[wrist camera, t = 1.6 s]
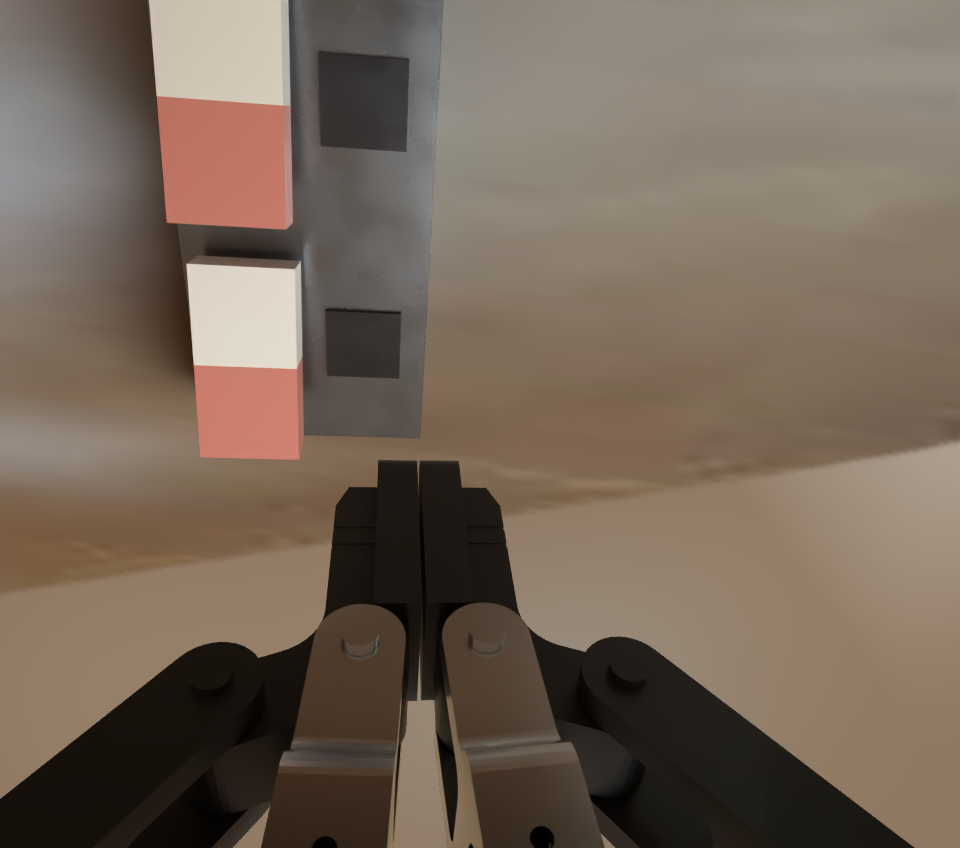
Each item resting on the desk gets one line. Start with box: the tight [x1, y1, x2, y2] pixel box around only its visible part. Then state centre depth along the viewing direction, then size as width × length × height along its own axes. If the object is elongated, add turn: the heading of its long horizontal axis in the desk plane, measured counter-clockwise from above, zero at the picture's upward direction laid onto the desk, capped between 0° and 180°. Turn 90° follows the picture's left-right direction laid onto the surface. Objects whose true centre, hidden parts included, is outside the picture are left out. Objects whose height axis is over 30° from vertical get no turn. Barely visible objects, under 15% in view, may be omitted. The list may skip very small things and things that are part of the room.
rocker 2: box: [187, 255, 304, 460], centre depth 31 cm, size 4×8×2 cm, turn 175°
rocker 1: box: [149, 0, 293, 229], centre depth 26 cm, size 4×8×2 cm, turn 175°
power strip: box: [146, 0, 443, 438], centre depth 30 cm, size 10×30×4 cm, turn 175°
